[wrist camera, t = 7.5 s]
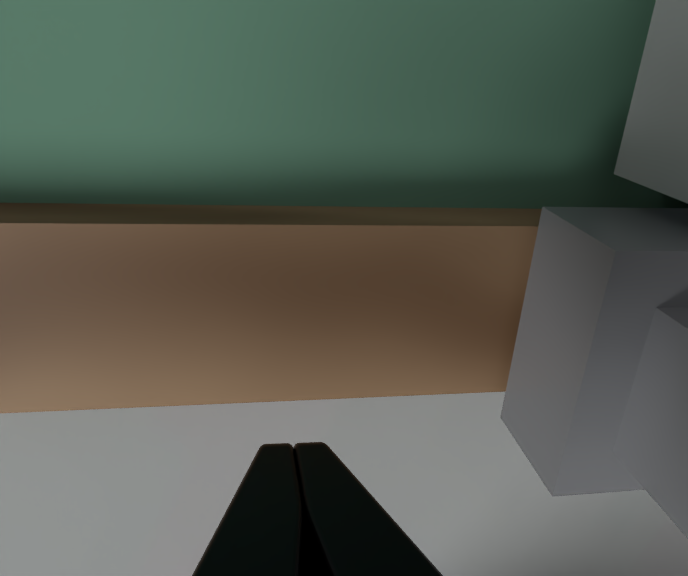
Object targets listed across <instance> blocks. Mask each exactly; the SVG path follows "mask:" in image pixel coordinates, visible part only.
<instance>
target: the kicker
mask: <svg viewBox="0 0 688 576" xmlns="http://www.w3.org/2000/svg"><path fill="white" fill-rule="evenodd" d="M614 174H615V175H618V176H620V177H623V178H625V179H628V180H630V181H633V182H635V183H638V184H640V185H643V186H645V187H648V188H650V189H653V190H655V191H658V192H660V193H663V194H665V195H668V196H670V197H673V198H675V199H678V200H680V201H683V202H685V203H688V0H656V2H655V6H654V10H653V14H652V18H651V22H650V27H649V31H648V35H647V39H646V43H645V47H644V51H643V55H642V59H641V64H640V68H639V72H638V76H637V80H636V84H635V88H634V92H633V96H632V100H631V105H630V109H629V113H628V117H627V121H626V125H625V129H624V133H623V137H622V141H621V146H620V150H619V154H618V158H617V162H616V166H615V170H614ZM501 419H502V420H503V422H504V423H505V425H506V426H507V428H508V430H509V431H510V433H511V434H512V436H513V437H514V439H515V440H516V442H517V443H518V445H519V446H520V448H521V449H522V451H523V452H524V454H525V455H526V457H527V459H528V460H529V462H530V463H531V465H532V466H533V468H534V469H535V471H536V472H537V474H538V475H539V477H540V478H541V480H542V481H543V483H544V485H545V486H546V488H547V489H548V491H549V492H550V494H551V495H552V496H565V495H578V494H591V493H604V492H617V491H631V490H644V489H645V490H646V491H647V492H648V493H649V494H650V496H651V497H652V498H653V499H654V500H655V501H656V502H657V504H658V505H659V506H660V507H661V508H662V509H663V511H664V512H665V513H666V514H667V515H668V516H669V517H670V519H671V520H672V521H673V522H674V523H675V524H676V526H677V527H678V528H679V529H680V530H681V531H682V533H683V534H684V535H685V536H686V537H687V538H688V208H612V207H542V211H541V216H540V221H539V226H538V231H537V236H536V241H535V246H534V251H533V256H532V261H531V266H530V271H529V276H528V282H527V287H526V292H525V297H524V302H523V307H522V312H521V317H520V322H519V327H518V332H517V337H516V342H515V347H514V352H513V357H512V362H511V367H510V372H509V377H508V382H507V387H506V392H505V397H504V402H503V407H502V412H501Z"/></svg>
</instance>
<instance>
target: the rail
mask: <svg viewBox="0 0 688 576" xmlns="http://www.w3.org/2000/svg"><path fill="white" fill-rule="evenodd" d="M541 211H542V209H516V208H427V207H339V206H250V205H162V204H74V203H0V413H18V412H41V411H64V410H87V409H110V408H133V407H156V406H179V405H203V404H226V403H249V402H272V401H295V400H318V399H341V398H364V397H387V396H410V395H433V394H456V393H480V392H503V391H506V387H507V382H508V377H509V372H510V367H511V362H512V357H513V352H514V347H515V342H516V337H517V332H518V327H519V322H520V317H521V312H522V307H523V302H524V297H525V292H526V287H527V282H528V276H529V271H530V266H531V261H532V256H533V251H534V246H535V241H536V236H537V231H538V226H539V221H540V216H541Z"/></svg>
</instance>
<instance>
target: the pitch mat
mask: <svg viewBox="0 0 688 576" xmlns="http://www.w3.org/2000/svg"><path fill="white" fill-rule="evenodd" d="M655 2H656V0H0V203H74V204H162V205H250V206H339V207H427V208H516V209H542V207H612V208H688V203H685V202H683V201H680V200H678V199H675V198H673V197H670V196H668V195H665V194H663V193H660V192H658V191H655V190H653V189H650V188H648V187H645V186H643V185H640V184H638V183H635V182H633V181H630V180H628V179H625V178H623V177H620V176H618V175H615V174H614V170H615V166H616V162H617V158H618V154H619V150H620V146H621V141H622V137H623V133H624V129H625V125H626V121H627V117H628V113H629V109H630V105H631V100H632V96H633V92H634V88H635V84H636V80H637V76H638V72H639V68H640V64H641V59H642V55H643V51H644V47H645V43H646V39H647V35H648V31H649V27H650V22H651V18H652V14H653V10H654V6H655Z"/></svg>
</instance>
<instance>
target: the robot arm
mask: <svg viewBox="0 0 688 576" xmlns="http://www.w3.org/2000/svg"><path fill="white" fill-rule="evenodd" d="M192 576H443V575H442V574H441V573H440V572H439V571H438V570H437V569H436V567H435V566H434V565H433V564H432V563H431V562H430V561H429V560H428V558H427V557H426V556H425V555H424V554H423V553H422V552H421V550H420V549H419V548H418V547H417V546H416V545H415V544H414V543H413V541H412V540H411V539H410V538H409V537H408V536H407V535H406V534H405V532H404V531H403V530H402V529H401V528H400V527H399V526H398V525H397V523H396V522H395V521H394V520H393V519H392V518H391V517H390V515H389V514H388V513H387V512H386V511H385V510H384V509H383V508H382V506H381V505H380V504H379V503H378V502H377V501H376V500H375V499H374V497H373V496H372V495H371V494H370V493H369V492H368V491H367V490H366V488H365V487H364V486H363V485H362V484H361V483H360V482H359V481H358V479H357V478H356V477H355V476H354V475H353V474H352V473H351V471H350V470H349V469H348V468H347V467H346V466H345V465H344V464H343V462H342V461H341V460H340V459H339V458H338V457H337V456H336V455H335V453H334V452H333V451H332V450H331V449H330V448H329V447H328V446H327V445H326V444H325V443H323V442H310V443H297V444H296V445H295V446H294V448H293V447H292V445H291V444H288V443H282V444H264V445H262V446H261V447H260V448H259V450H258V452H257V454H256V456H255V457H254V459H253V461H252V463H251V465H250V467H249V469H248V471H247V473H246V474H245V476H244V478H243V480H242V482H241V484H240V486H239V488H238V490H237V492H236V493H235V495H234V497H233V499H232V501H231V503H230V505H229V507H228V509H227V510H226V512H225V514H224V516H223V518H222V520H221V522H220V524H219V526H218V528H217V529H216V531H215V533H214V535H213V537H212V539H211V541H210V543H209V545H208V546H207V548H206V550H205V552H204V554H203V556H202V558H201V560H200V562H199V563H198V565H197V567H196V569H195V571H194V573H193V575H192Z"/></svg>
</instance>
